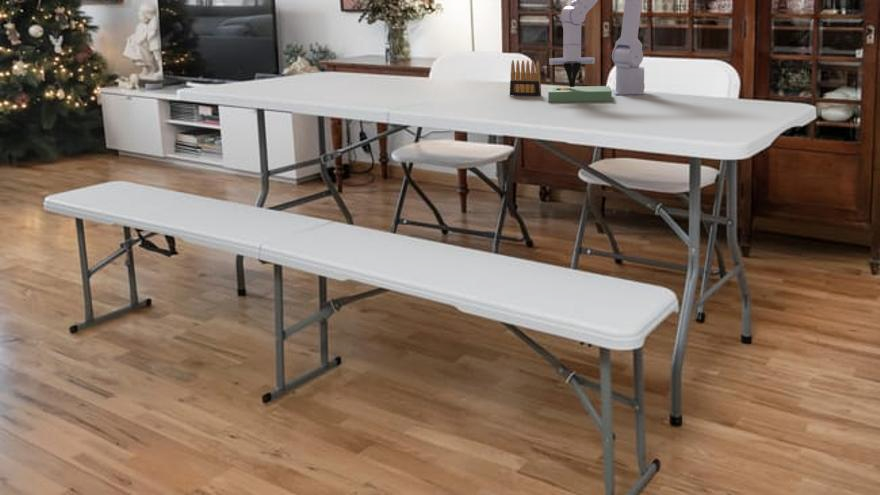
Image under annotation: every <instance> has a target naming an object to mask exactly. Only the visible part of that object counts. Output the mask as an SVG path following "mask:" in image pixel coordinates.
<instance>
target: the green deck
mask: <svg viewBox="0 0 880 495" xmlns="http://www.w3.org/2000/svg"><path fill="white" fill-rule="evenodd" d="M562 88H568V89H569V90H561V89H562ZM547 91H548V94H547V95H548V103H598V102H599V103H607V102H608V103H610V102H611V103H612V97H613V95H612V89H611V87H610V86H609V85H598V86H597V85H595V86H594V85H591V86H590V85H589V86H582V85H581V86H574V87H569V86H548V90H547Z"/></svg>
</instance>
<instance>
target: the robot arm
mask: <svg viewBox="0 0 880 495" xmlns="http://www.w3.org/2000/svg"><path fill="white" fill-rule="evenodd" d="M598 1H599V0H572V1H570V4H569V5H568V6H567V5H566V6H565V7H563V9H562V10H561V13H560V14H559V20H560V22H561V23H562V24H561V25H562V28H563V36H562V38H563V41H562V44H563V46H562V47H563V48H562V53H563V54H562V57H554V58H553V57H551V58H550V57H549V59H548V60H549V61H548V62H549V63H548V64H549V65H550V66H553V65H562V66H563V68H564V70H565V73H566V77H567V80H568V85H569V86H568V87H575V85H576V84H575V83H576V80H577V77H578V74H579V71H580V69H581V67H582V64H583V65H584V64H585V65H587V64H589V65H591V64H592V65H595V64H596V57H595V56H594V57H592V56H591V57H590V56H588V57H587V56H586V57H585V56H583V57H582V23H584V22H585V20H586V17H587V14H588V12H589V11H590V10H592V8H593V7H594V6H595V5H596V4H597V3H598ZM642 3H643V0H624V8H623V14H622V15H623V16H622V18H623V19H622V23H621V24H622V25H621V32H620V33H621V34H620V37H619V38H618V39H617V40H616V41H615V43H614V44H615V45H614V48H613V50H612V53H611V59H612V62H613V63H614V66H615V67H616V68H615V70H616V71H615V90H613V93H614V95H618V96H619V95H620V96H621V95H624V96H625V95H644V94H645V67H644V66H640V65H641V64H642V62H643V59H644V53H643V43H642V42H641V41H640V40H639V29H640V28H639V27H640V21H641V12H642Z"/></svg>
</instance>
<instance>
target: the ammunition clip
mask: <svg viewBox="0 0 880 495" xmlns="http://www.w3.org/2000/svg"><path fill="white" fill-rule="evenodd" d="M515 64H516V66H515ZM540 68H541V67H540V61H539V60H538V59H537V60H536V64H535V62H534V60H533V59H532V61H531V64H530V61H529V60H526V65H525V61H524V59H523V60H522V61H521V65H520V60H519V59H517V60H516V63H515V61H514V59H512V60H511V65H510V81H509V96H510V95H514V96H515V97H541V96H542V86H541V85H542V84H541V69H540ZM514 96H513V97H514Z"/></svg>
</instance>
